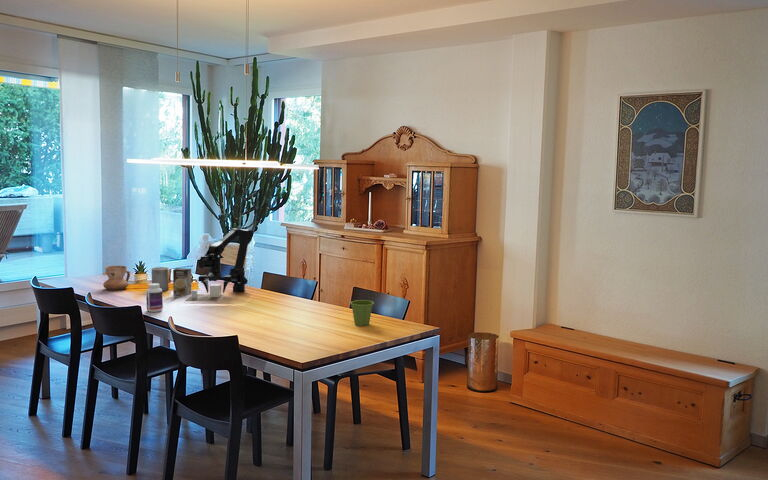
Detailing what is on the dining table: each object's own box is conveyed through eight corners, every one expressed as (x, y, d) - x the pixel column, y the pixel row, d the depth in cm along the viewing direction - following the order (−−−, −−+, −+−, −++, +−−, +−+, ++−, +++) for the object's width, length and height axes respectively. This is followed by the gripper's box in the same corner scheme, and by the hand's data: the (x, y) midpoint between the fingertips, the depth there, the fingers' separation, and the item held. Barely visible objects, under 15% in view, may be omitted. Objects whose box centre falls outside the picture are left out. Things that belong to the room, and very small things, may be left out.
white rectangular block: (221, 295, 392) (221, 284, 391) (219, 297, 386) (219, 285, 386) (212, 295, 392) (211, 284, 391) (209, 296, 386) (209, 285, 385)
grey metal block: (197, 298, 381) (197, 289, 381) (196, 299, 378) (196, 290, 378) (192, 298, 381) (192, 289, 380) (191, 299, 378) (191, 290, 378)
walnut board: (224, 296, 394) (224, 294, 394) (216, 303, 374) (216, 301, 374) (193, 296, 394) (193, 294, 394) (184, 303, 374) (184, 300, 374)
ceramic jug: (109, 292, 400) (109, 269, 398) (96, 289, 408) (96, 266, 407) (136, 289, 414) (136, 266, 412) (123, 286, 423) (123, 264, 421)
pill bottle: (166, 310, 355) (165, 283, 353) (155, 313, 347) (154, 286, 346) (154, 308, 358) (153, 282, 356) (143, 311, 351) (142, 284, 349)
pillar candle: (162, 288, 417) (161, 264, 415) (171, 290, 411) (171, 266, 409) (148, 290, 409) (147, 266, 407) (158, 292, 403) (157, 268, 401)
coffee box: (172, 296, 392) (172, 269, 390) (177, 294, 398) (176, 267, 396) (187, 297, 391) (187, 270, 389) (191, 295, 397) (191, 268, 395)
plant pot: (350, 321, 337) (351, 299, 336) (374, 322, 336) (374, 300, 335) (348, 327, 325) (349, 304, 324) (373, 327, 325) (373, 305, 323)
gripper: (195, 268, 379) (196, 295, 381) (228, 268, 379) (228, 295, 381) (200, 265, 390) (201, 291, 392) (232, 265, 390) (232, 292, 392)
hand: (215, 292), depth 389 cm, fingers open, 9 cm apart
